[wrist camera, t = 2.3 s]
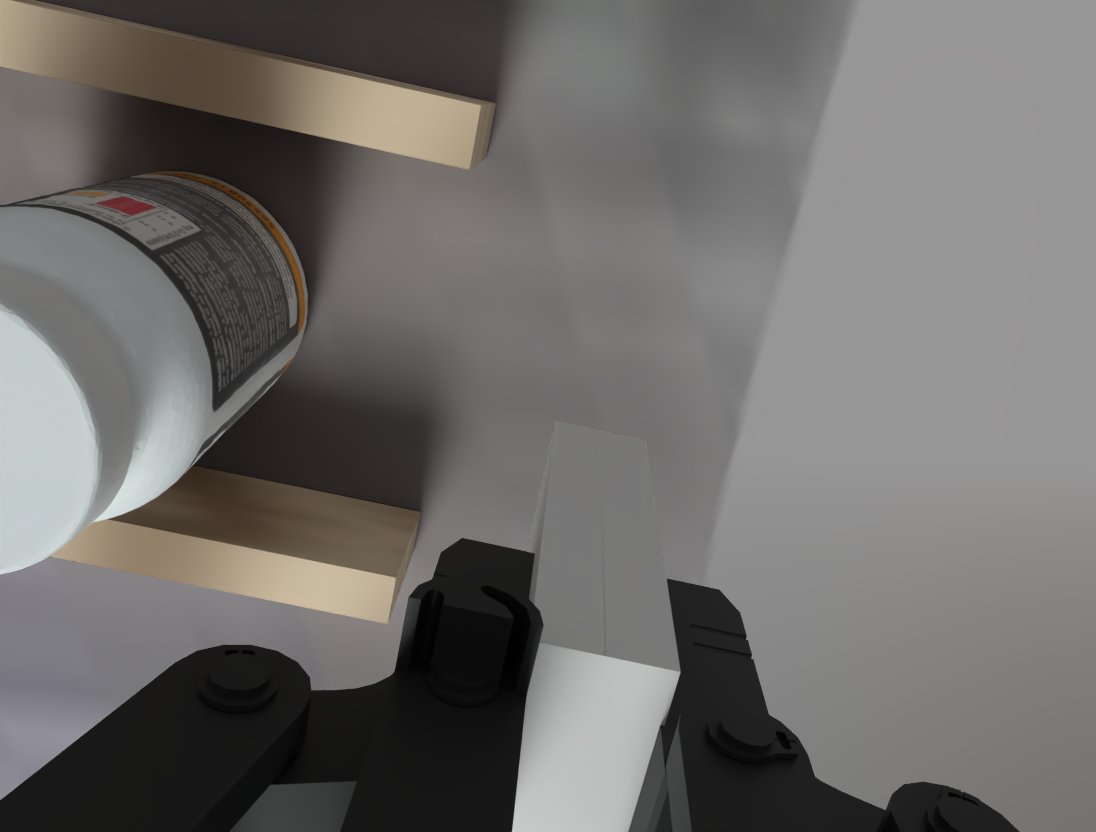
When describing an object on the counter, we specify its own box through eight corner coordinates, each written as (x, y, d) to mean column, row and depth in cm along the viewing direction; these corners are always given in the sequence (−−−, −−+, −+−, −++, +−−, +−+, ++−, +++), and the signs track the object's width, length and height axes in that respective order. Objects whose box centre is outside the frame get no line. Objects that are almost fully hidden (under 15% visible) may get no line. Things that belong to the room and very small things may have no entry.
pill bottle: (87, 141, 22) (-283, 180, 12) (334, 202, 22) (154, 285, 13) (69, 374, 24) (-267, 561, 14) (297, 427, 24) (115, 645, 15)
